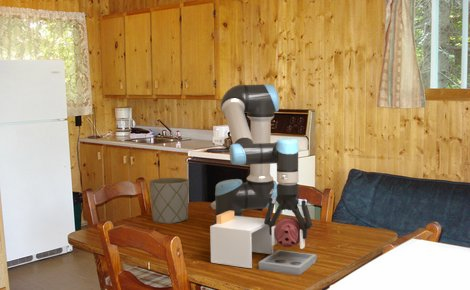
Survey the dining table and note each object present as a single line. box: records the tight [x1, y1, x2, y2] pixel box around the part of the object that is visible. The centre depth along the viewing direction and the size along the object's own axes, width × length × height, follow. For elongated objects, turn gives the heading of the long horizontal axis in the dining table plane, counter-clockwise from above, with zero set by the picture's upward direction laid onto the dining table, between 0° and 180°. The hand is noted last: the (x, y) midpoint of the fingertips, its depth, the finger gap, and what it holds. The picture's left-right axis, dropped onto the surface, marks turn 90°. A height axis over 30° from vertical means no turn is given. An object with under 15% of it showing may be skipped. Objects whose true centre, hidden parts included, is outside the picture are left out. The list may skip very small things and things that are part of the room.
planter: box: [148, 177, 190, 225], centre depth 262 cm, size 19×19×20 cm
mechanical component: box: [275, 217, 302, 248], centre depth 188 cm, size 12×10×10 cm
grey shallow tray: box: [258, 249, 318, 276], centre depth 190 cm, size 15×17×2 cm
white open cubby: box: [209, 210, 274, 269], centre depth 198 cm, size 16×19×16 cm
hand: (288, 246), depth 189 cm, fingers closed on mechanical component, 10 cm apart
